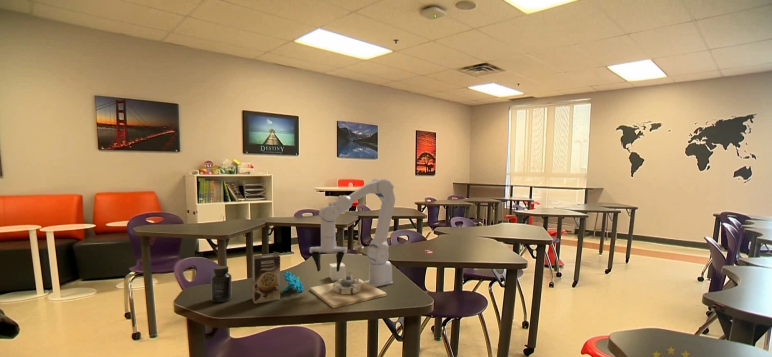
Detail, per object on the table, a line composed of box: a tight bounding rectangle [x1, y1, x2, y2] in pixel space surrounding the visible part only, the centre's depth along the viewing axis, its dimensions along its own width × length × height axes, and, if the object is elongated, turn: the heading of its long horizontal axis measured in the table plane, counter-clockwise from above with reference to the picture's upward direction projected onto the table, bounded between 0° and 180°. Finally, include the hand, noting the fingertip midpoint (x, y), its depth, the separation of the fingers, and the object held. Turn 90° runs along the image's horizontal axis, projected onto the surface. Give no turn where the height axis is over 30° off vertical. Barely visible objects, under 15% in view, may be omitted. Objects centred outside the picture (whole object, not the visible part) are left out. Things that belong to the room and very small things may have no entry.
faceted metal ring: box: [333, 271, 362, 294], centre depth 136 cm, size 16×11×4 cm
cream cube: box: [328, 262, 347, 282], centre depth 152 cm, size 6×6×6 cm
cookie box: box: [252, 252, 281, 304], centre depth 126 cm, size 9×6×16 cm
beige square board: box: [309, 277, 388, 309], centre depth 133 cm, size 22×22×4 cm
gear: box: [283, 271, 305, 293], centre depth 136 cm, size 11×6×10 cm
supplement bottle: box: [210, 265, 233, 304], centre depth 125 cm, size 7×7×12 cm
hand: (328, 270), depth 135 cm, fingers open, 7 cm apart
